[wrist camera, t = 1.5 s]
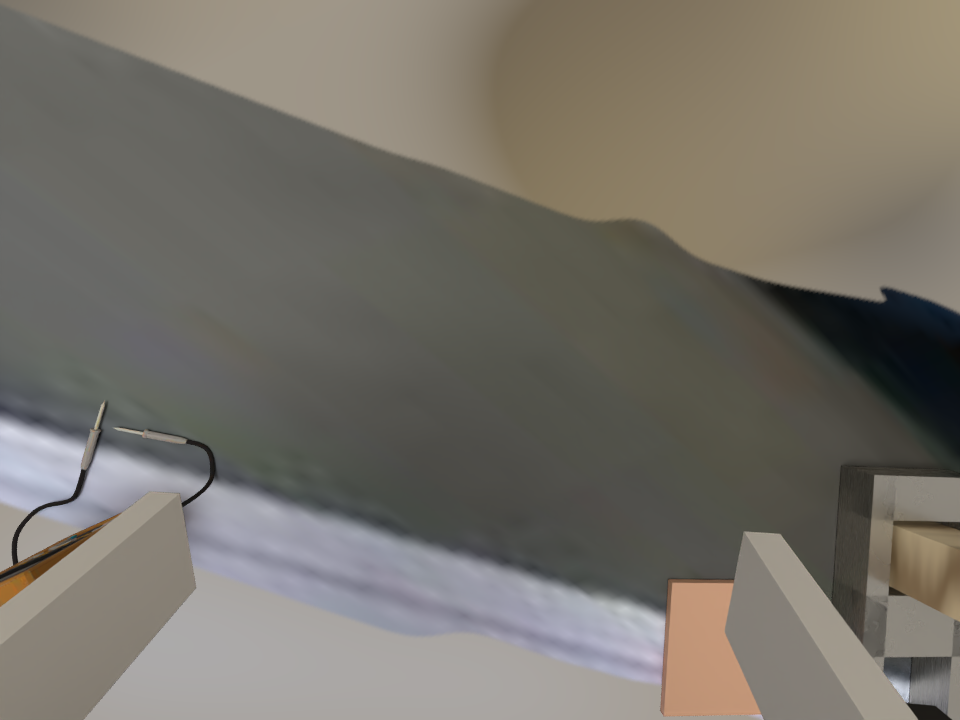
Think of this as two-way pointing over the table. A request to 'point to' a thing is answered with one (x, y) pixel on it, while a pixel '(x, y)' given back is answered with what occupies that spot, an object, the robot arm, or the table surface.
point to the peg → (927, 564)
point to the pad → (701, 653)
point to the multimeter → (25, 572)
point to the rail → (866, 571)
